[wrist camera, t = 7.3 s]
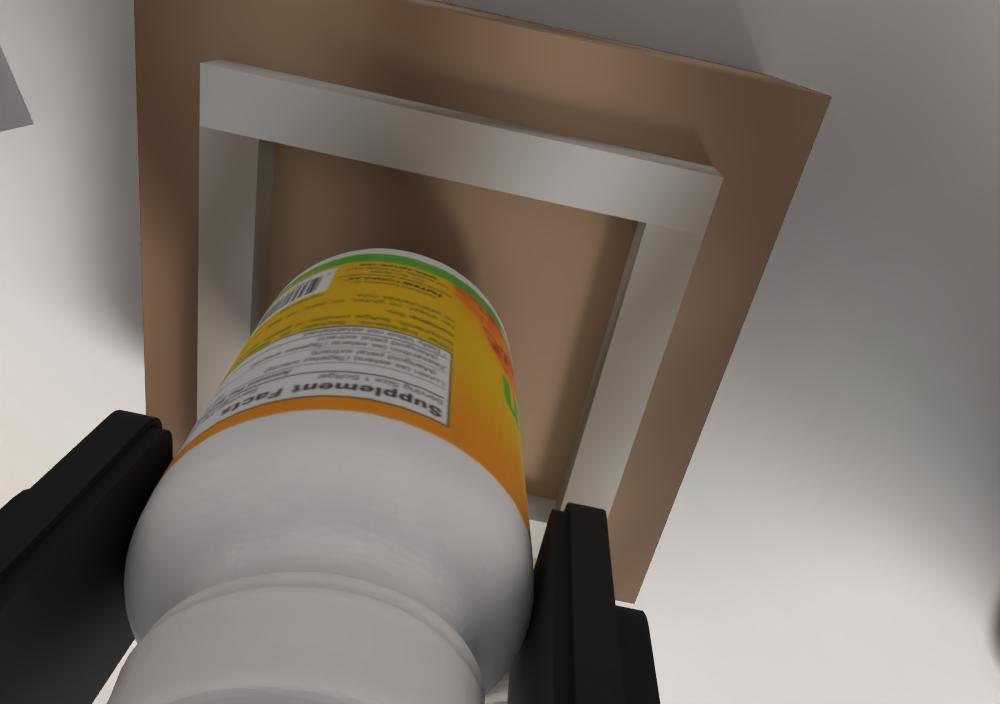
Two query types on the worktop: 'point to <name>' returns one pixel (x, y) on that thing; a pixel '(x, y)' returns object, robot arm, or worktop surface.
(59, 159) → the worktop surface
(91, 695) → the robot arm
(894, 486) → the worktop surface
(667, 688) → the worktop surface
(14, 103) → the grey rubber block
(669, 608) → the worktop surface
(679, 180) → the walnut stand
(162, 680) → the supplement bottle
